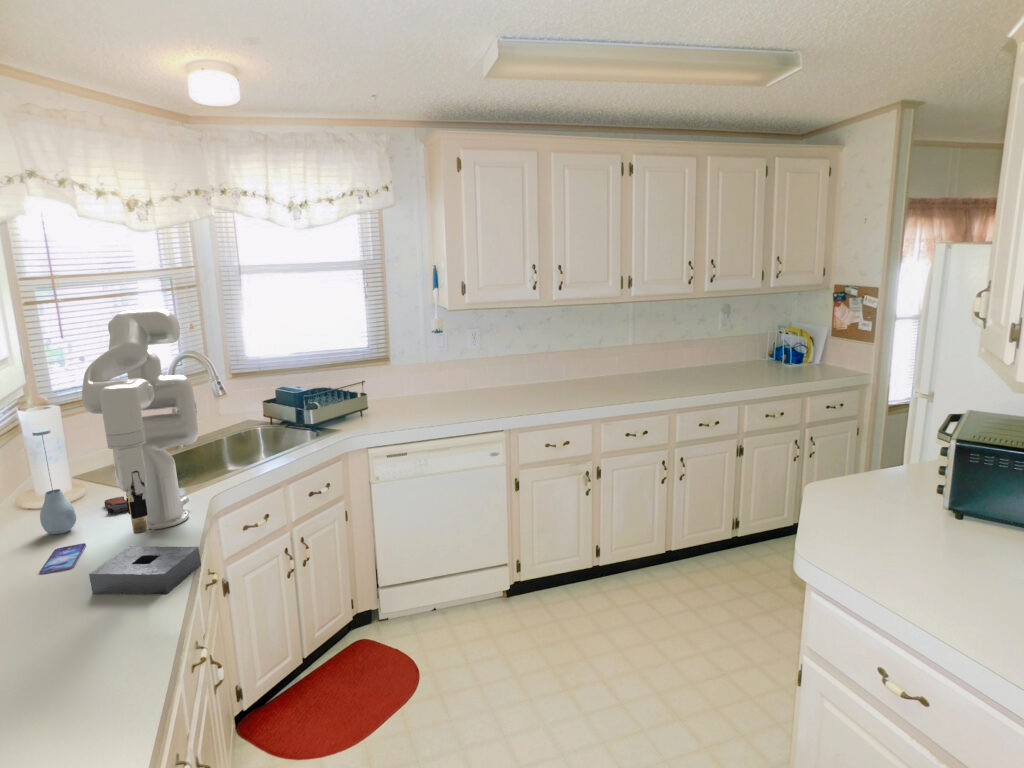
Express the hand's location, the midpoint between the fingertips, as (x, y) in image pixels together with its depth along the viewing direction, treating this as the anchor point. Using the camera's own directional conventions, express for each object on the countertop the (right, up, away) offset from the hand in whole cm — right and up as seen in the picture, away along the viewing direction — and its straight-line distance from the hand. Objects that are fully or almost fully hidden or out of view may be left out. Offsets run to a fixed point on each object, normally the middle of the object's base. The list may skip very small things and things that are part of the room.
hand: (138, 514), depth 149 cm
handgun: (-31, -8, +53) cm, 62 cm away
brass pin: (0, -4, +1) cm, 4 cm away
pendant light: (-41, -12, +33) cm, 54 cm away
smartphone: (-29, -15, +16) cm, 36 cm away
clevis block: (0, -16, +4) cm, 17 cm away
